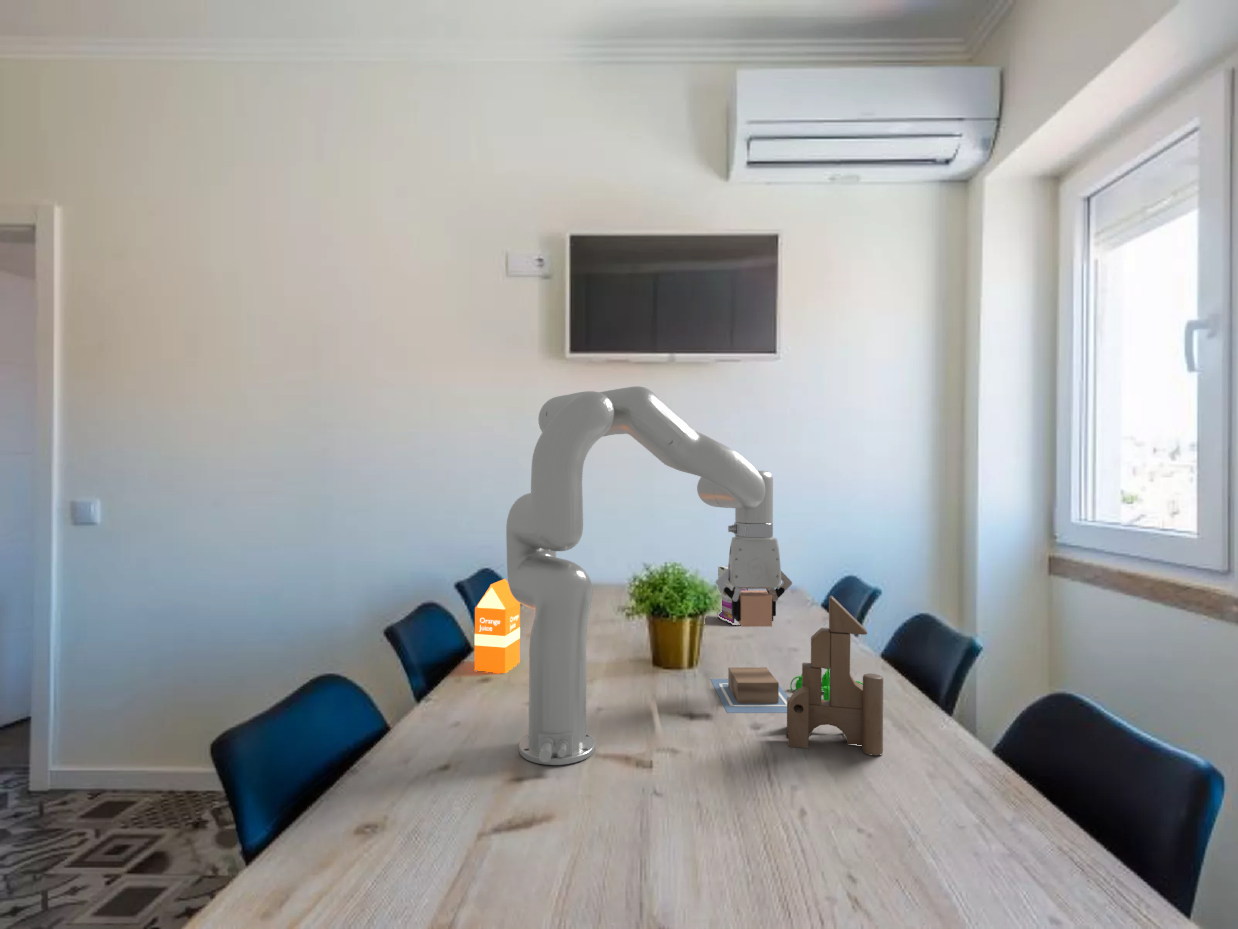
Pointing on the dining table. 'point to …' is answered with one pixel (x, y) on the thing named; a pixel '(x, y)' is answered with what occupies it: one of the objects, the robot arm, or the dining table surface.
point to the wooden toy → (837, 689)
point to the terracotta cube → (755, 609)
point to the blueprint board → (735, 707)
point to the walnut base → (753, 685)
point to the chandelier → (824, 682)
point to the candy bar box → (726, 598)
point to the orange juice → (497, 630)
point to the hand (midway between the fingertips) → (753, 618)
